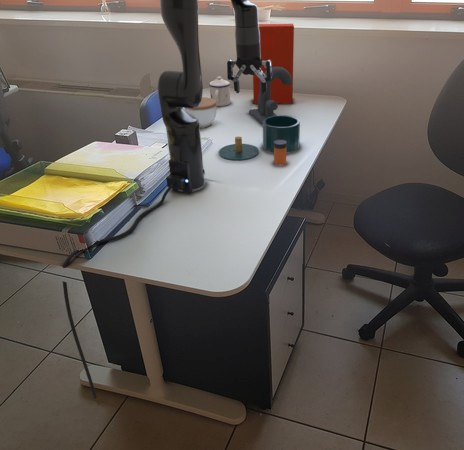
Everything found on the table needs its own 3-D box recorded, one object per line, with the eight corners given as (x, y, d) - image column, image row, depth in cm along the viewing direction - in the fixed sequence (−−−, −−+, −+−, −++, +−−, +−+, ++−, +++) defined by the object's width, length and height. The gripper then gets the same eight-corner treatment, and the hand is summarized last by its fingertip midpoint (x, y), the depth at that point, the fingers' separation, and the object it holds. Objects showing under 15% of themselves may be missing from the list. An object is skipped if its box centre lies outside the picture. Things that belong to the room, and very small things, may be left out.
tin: (291, 156, 156) (292, 129, 151) (257, 151, 160) (256, 124, 155) (304, 143, 166) (305, 117, 161) (271, 138, 170) (271, 113, 165)
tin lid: (248, 164, 151) (247, 147, 148) (211, 158, 155) (210, 141, 152) (265, 150, 161) (265, 133, 158) (230, 144, 166) (229, 128, 163)
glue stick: (283, 167, 149) (283, 145, 145) (271, 165, 150) (271, 143, 146) (288, 162, 152) (288, 140, 148) (276, 160, 154) (276, 138, 150)
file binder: (254, 98, 213) (252, 23, 196) (291, 98, 213) (292, 23, 196) (253, 104, 206) (251, 26, 189) (292, 103, 206) (294, 26, 189)
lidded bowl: (179, 124, 185) (176, 96, 179) (206, 117, 192) (204, 90, 186) (197, 132, 177) (194, 103, 171) (224, 125, 183) (222, 97, 178)
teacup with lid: (213, 100, 212) (211, 74, 206) (232, 100, 211) (231, 74, 205) (206, 108, 202) (204, 81, 196) (227, 108, 201) (225, 81, 195)
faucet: (300, 121, 186) (302, 70, 176) (264, 126, 181) (263, 74, 171) (282, 108, 201) (283, 60, 190) (248, 113, 196) (247, 64, 185)
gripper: (222, 43, 141) (226, 96, 150) (268, 44, 138) (270, 97, 148) (228, 37, 147) (232, 88, 156) (272, 38, 145) (274, 89, 154)
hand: (250, 92), depth 152 cm, fingers open, 8 cm apart
